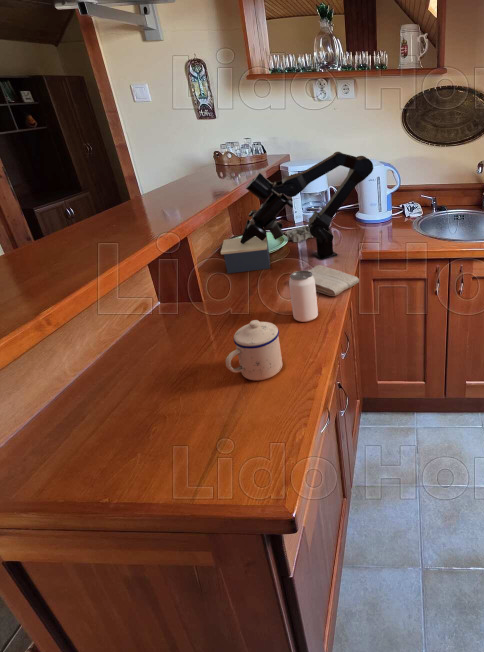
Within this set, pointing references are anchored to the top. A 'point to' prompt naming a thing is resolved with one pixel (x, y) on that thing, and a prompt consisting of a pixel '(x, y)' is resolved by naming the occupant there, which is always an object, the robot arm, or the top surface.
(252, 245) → the lid
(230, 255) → the toy box
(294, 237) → the egg carton
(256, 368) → the teacup with lid
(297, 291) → the can
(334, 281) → the washcloth
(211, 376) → the top surface
